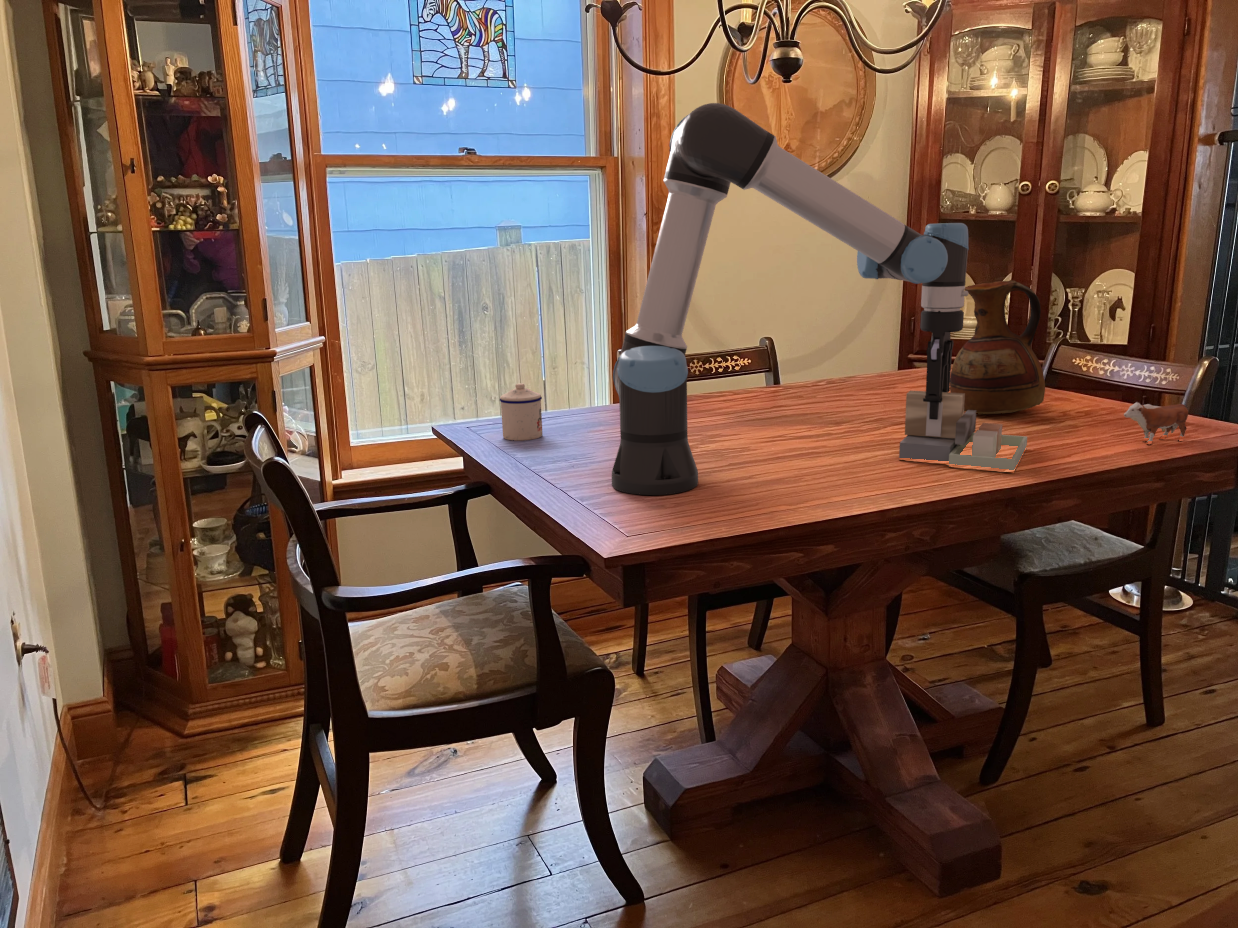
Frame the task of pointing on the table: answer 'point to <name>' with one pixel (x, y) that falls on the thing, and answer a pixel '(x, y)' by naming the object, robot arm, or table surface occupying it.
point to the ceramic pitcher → (998, 355)
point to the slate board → (926, 447)
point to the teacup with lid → (521, 414)
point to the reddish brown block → (993, 428)
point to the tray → (990, 461)
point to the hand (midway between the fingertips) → (935, 433)
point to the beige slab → (952, 417)
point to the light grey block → (984, 443)
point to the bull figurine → (1158, 418)
